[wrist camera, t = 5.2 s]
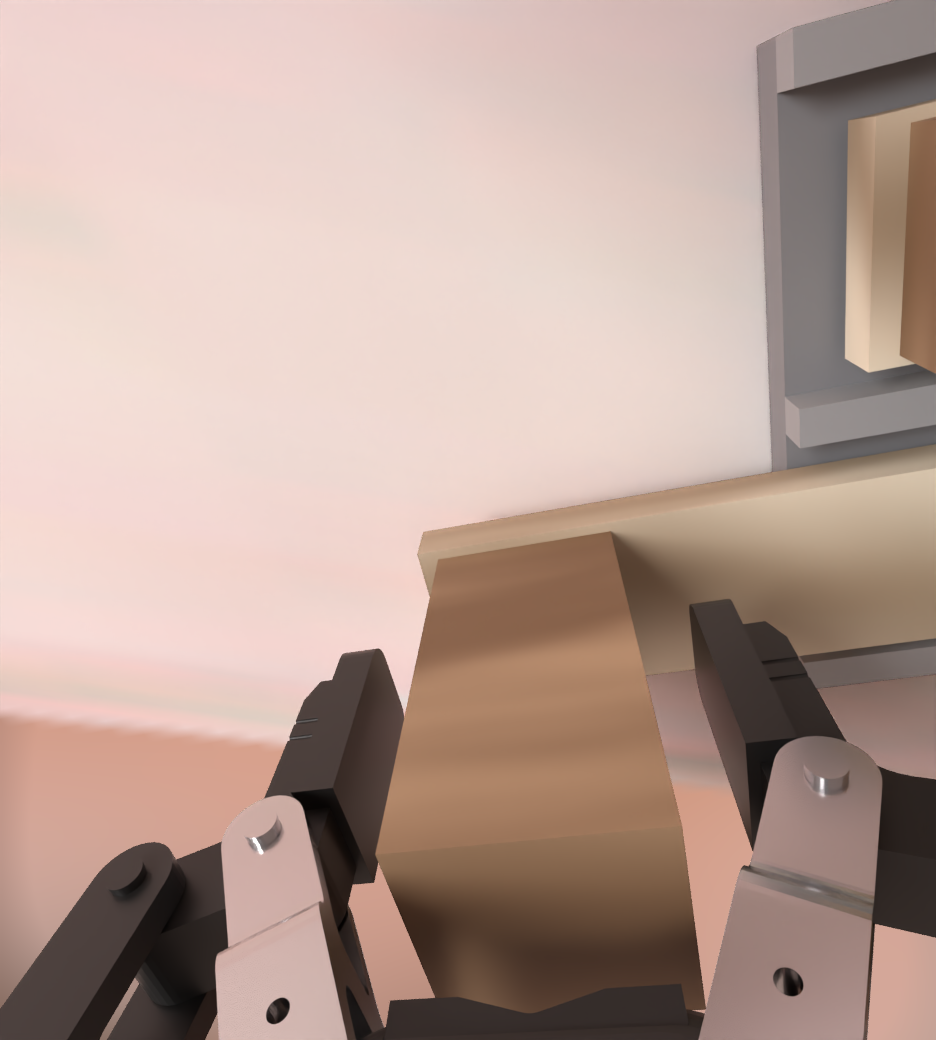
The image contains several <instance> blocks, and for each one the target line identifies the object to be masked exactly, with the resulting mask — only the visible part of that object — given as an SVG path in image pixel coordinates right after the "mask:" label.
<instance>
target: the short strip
mask: <svg viewBox="0 0 936 1040" xmlns="http://www.w3.org/2000/svg"><path fill="white" fill-rule="evenodd" d="M845 359H847V360H848V361H850V362H852V363H853V364H855V365H857V366H858V367H860V368H862V369H863V370H865V371H867V372H868V373H869V372H874V371H880V370H885V369H890V368H895V367H901V366H906V365H911V364H917V365H919V366H921V367H923V368H925V369H927V370H929V371H931V372H933V373H935V374H936V99H933V100H929V101H925V102H921V103H917V104H913V105H909V106H905V107H901V108H896V109H892V110H888V111H884V112H880V113H876V114H872V115H868V116H864V117H860V118H856V119H852V120H848V164H847V240H846V315H845Z"/></svg>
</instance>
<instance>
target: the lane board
mask: <svg viewBox="0 0 936 1040" xmlns="http://www.w3.org/2000/svg"><path fill="white" fill-rule="evenodd" d="M757 64H758V92H759V120H760V148H761V175H762V203H763V231H764V259H765V287H766V314H767V342H768V370H769V398H770V425H771V453H772V472H776V471H782V470H788V469H794V468H800V467H805V466H811V465H817V464H823V463H829V462H835V461H840V460H846V459H852V458H858V457H864V456H869V455H875V454H881V453H887V452H893V451H899V450H904V449H910V448H916V447H922V446H928V445H934V444H936V374H935V373H933V372H931V371H929V370H927V369H925V368H923V367H921V366H919V365H917V364H911V365H906V366H901V367H895V368H890V369H885V370H880V371H874V372H869V373H868V372H867V371H865V370H863V369H862V368H860V367H858V366H857V365H855V364H853V363H852V362H850V361H848V360H847V359H845V315H846V240H847V164H848V120H852V119H856V118H860V117H864V116H868V115H872V114H876V113H880V112H884V111H888V110H892V109H896V108H901V107H905V106H909V105H913V104H917V103H921V102H925V101H929V100H933V99H936V0H893V1H890V2H886V3H882V4H879V5H875V6H871V7H868V8H864V9H860V10H856V11H853V12H849V13H845V14H842V15H838V16H834V17H831V18H827V19H823V20H819V21H816V22H812V23H808V24H805V25H801V26H797V27H794V28H791V29H789V30H787V31H785V32H784V33H782V34H780V35H778V36H776V37H774V38H772V39H770V40H768V41H766V42H764V43H762V44H760V45H758V46H757ZM798 658H799V661H801V662H802V664H803V666H804V668H805V669H806V671H807V673H808V677H810V678H811V680H812V682H813V684H814V685H815V687H816V689H818V688H826V687H835V686H843V685H851V684H859V683H867V682H876V681H884V680H892V679H900V678H908V677H917V676H925V675H933V674H936V638H934V639H926V640H918V641H911V642H903V643H895V644H888V645H880V646H872V647H864V648H857V649H849V650H841V651H833V652H826V653H818V654H810V655H803V656H798Z"/></svg>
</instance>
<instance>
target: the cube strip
mask: <svg viewBox="0 0 936 1040" xmlns="http://www.w3.org/2000/svg"><path fill="white" fill-rule="evenodd" d="M417 555H418V558H419V562H420V565H421V569H422V572H423V575H424V579H425V582H426V585H427V589H428V592H429V595H430V600H429V604H428V609H427V614H426V618H425V623H424V628H423V632H422V637H421V642H420V647H419V651H418V656H417V661H416V665H415V670H414V675H413V679H412V684H411V689H410V694H409V698H408V703H407V708H406V712H405V717H404V722H403V726H402V731H401V736H400V741H399V745H398V750H397V755H396V759H395V764H394V769H393V773H392V778H391V783H390V788H389V792H388V797H387V802H386V806H385V811H384V816H383V820H382V825H381V830H380V835H379V839H378V844H377V849H376V853H375V855H376V858H377V860H378V863H379V865H380V867H381V869H382V872H383V874H384V877H385V879H386V882H387V884H388V886H389V889H390V891H391V893H392V896H393V898H394V900H395V903H396V905H397V907H398V910H399V912H400V915H401V917H402V919H403V922H404V924H405V927H406V929H407V931H408V933H409V936H410V938H411V941H412V943H413V946H414V948H415V950H416V952H417V955H418V957H419V960H420V962H421V965H422V967H423V969H424V972H425V974H426V976H427V979H428V981H429V983H430V986H431V988H432V991H433V993H434V995H435V998H445V997H461V998H465V999H469V1000H473V1001H477V1002H482V1003H486V1004H490V1005H494V1006H498V1007H502V1008H506V1009H510V1010H514V1011H519V1012H523V1013H536V1012H539V1011H542V1010H545V1009H548V1008H551V1007H554V1006H556V1005H559V1004H562V1003H565V1002H568V1001H571V1000H574V999H576V998H579V997H582V996H585V995H588V994H591V993H594V992H596V991H599V990H602V989H605V988H618V987H636V986H653V985H670V984H681V986H682V991H683V996H684V1002H685V1007H686V1009H688V1010H704V1009H706V1006H705V999H704V991H703V983H702V976H701V969H700V960H699V953H698V945H697V938H696V930H695V922H694V915H693V907H692V899H691V891H690V883H689V876H688V868H687V860H686V853H685V845H684V837H683V830H682V824H681V820H680V816H679V812H678V807H677V803H676V799H675V795H674V791H673V787H672V783H671V779H670V774H669V770H668V766H667V762H666V758H665V754H664V750H663V746H662V742H661V737H660V733H659V729H658V725H657V721H656V717H655V713H654V709H653V705H652V700H651V696H650V692H649V688H648V684H647V680H646V676H648V675H656V674H664V673H671V672H679V671H687V670H694V669H695V663H694V653H693V644H692V634H691V624H690V614H689V605H690V604H695V603H702V602H709V601H716V600H723V599H731V601H732V602H733V604H734V606H735V608H736V610H737V612H738V615H739V617H740V619H741V621H742V623H743V624H748V623H755V622H762V621H766V622H767V623H769V624H770V625H772V626H773V627H774V628H776V629H777V630H778V631H780V632H781V633H783V634H784V635H785V636H787V637H788V639H789V641H790V643H791V645H792V646H793V648H794V650H795V652H796V653H797V655H798V656H803V655H810V654H818V653H826V652H833V651H841V650H849V649H857V648H864V647H872V646H880V645H888V644H895V643H903V642H911V641H918V640H926V639H934V638H936V444H934V445H928V446H922V447H916V448H910V449H904V450H899V451H893V452H887V453H881V454H875V455H869V456H864V457H858V458H852V459H846V460H840V461H835V462H829V463H823V464H817V465H811V466H805V467H800V468H794V469H788V470H782V471H776V472H770V473H765V474H759V475H753V476H747V477H741V478H735V479H730V480H724V481H718V482H712V483H706V484H700V485H695V486H689V487H683V488H677V489H671V490H666V491H660V492H654V493H648V494H642V495H636V496H631V497H625V498H619V499H613V500H607V501H601V502H596V503H590V504H584V505H578V506H572V507H566V508H561V509H555V510H549V511H543V512H537V513H531V514H526V515H520V516H514V517H508V518H502V519H497V520H491V521H485V522H479V523H473V524H467V525H462V526H456V527H450V528H444V529H438V530H432V531H427V532H423V535H422V539H421V543H420V546H419V550H418V554H417Z"/></svg>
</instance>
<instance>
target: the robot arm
mask: <svg viewBox="0 0 936 1040" xmlns="http://www.w3.org/2000/svg"><path fill="white" fill-rule="evenodd" d="M689 614H690V624H691V634H692V644H693V653H694V663H695V671H696V678H697V683H698V688H699V692H700V696H701V699H702V702H703V706H704V708H705V711H706V714H707V717H708V720H709V723H710V726H711V729H712V732H713V735H714V738H715V741H716V744H717V747H718V750H719V753H720V756H721V759H722V762H723V765H724V768H725V771H726V774H727V777H728V780H729V783H730V786H731V788H732V791H733V794H734V797H735V800H736V803H737V806H738V809H739V812H740V815H741V818H742V821H743V824H744V827H745V830H746V833H747V836H748V839H749V842H750V845H751V848H752V851H753V855H752V859H751V862H750V865H749V866H745V865H744V866H743V867H742V868H741V870H740V873H739V876H738V879H737V883H736V887H735V891H734V895H733V899H732V904H731V907H730V911H729V916H728V920H727V924H726V928H725V932H724V936H723V940H722V945H721V949H720V953H719V957H718V961H717V965H716V969H715V974H714V978H713V982H712V986H711V990H710V995H709V998H708V1003H707V1007H706V1011H705V1014H704V1013H700V1012H696V1011H692V1010H688V1009H686V1007H685V1002H684V996H683V991H682V986H681V984H670V985H653V986H636V987H618V988H605V989H602V990H599V991H596V992H594V993H591V994H588V995H585V996H582V997H579V998H576V999H574V1000H571V1001H568V1002H565V1003H562V1004H559V1005H556V1006H554V1007H551V1008H548V1009H545V1010H542V1011H539V1012H536V1013H523V1012H519V1011H514V1010H510V1009H506V1008H502V1007H498V1006H494V1005H490V1004H486V1003H482V1002H477V1001H473V1000H469V999H465V998H461V997H445V998H428V999H411V1000H394V1001H390V1005H389V1011H388V1018H387V1024H386V1027H385V1028H384V1026H383V1023H382V1020H381V1018H380V1014H379V1011H378V1008H377V1005H376V1001H375V997H374V993H373V989H372V986H371V982H370V978H369V975H368V971H367V967H366V963H365V959H364V956H363V952H362V948H361V944H360V941H359V937H358V933H357V929H356V926H355V922H354V918H353V915H352V912H351V909H350V907H349V905H348V901H349V897H350V893H351V888H352V885H353V884H364V883H374V880H375V875H376V871H377V866H378V860H377V858H376V855H375V853H376V849H377V844H378V839H379V835H380V830H381V825H382V820H383V816H384V811H385V806H386V802H387V797H388V792H389V788H390V783H391V778H392V773H393V769H394V764H395V759H396V755H397V750H398V745H399V741H400V736H401V731H402V726H403V722H404V714H403V709H402V705H401V702H400V699H399V696H398V693H397V691H396V688H395V685H394V682H393V679H392V676H391V673H390V670H389V668H388V665H387V662H386V659H385V656H384V654H383V652H382V651H381V650H380V649H372V650H365V651H358V652H351V653H344V654H343V655H342V656H341V658H340V660H339V663H338V666H337V668H336V671H335V674H334V676H333V679H332V680H330V681H323V682H320V683H319V684H318V686H317V687H316V688H315V689H314V690H313V691H312V692H311V693H310V695H309V696H308V697H307V698H306V699H305V700H304V702H303V705H302V707H301V710H300V712H299V714H298V717H297V719H296V724H295V725H294V727H293V729H292V732H291V734H290V741H287V744H286V746H285V749H284V751H283V754H282V756H281V759H280V761H279V764H278V766H277V769H276V771H275V774H274V776H273V778H272V781H271V783H270V786H269V788H268V791H267V793H266V796H265V798H264V799H262V800H260V801H257V802H256V803H254V804H252V805H250V806H249V807H247V808H246V809H245V810H243V811H242V812H241V813H240V814H239V815H238V816H237V817H236V818H235V819H234V820H233V821H232V822H231V824H230V825H229V827H228V828H227V830H226V832H225V834H224V837H223V840H222V842H220V843H218V844H215V845H213V846H210V847H208V848H205V849H202V850H200V851H197V852H195V853H192V854H190V855H187V856H184V857H182V858H179V859H177V860H176V859H175V857H174V856H173V854H172V852H171V851H170V849H169V848H168V847H167V846H166V845H164V844H161V843H155V842H153V843H145V844H141V845H138V846H135V847H132V848H131V849H128V850H126V851H125V852H123V853H121V854H120V855H118V856H117V857H115V858H114V859H113V860H111V861H110V862H109V863H108V864H107V865H106V866H105V867H104V868H103V869H102V870H101V871H100V872H99V873H98V874H97V876H96V877H95V878H94V880H93V881H92V882H91V884H90V885H89V887H88V888H87V889H86V891H85V892H84V893H83V895H82V896H81V898H80V899H79V900H78V902H77V903H76V905H75V906H74V907H73V909H72V910H71V911H70V913H69V914H68V916H67V917H66V918H65V920H64V921H63V923H62V924H61V925H60V927H59V928H58V930H57V931H56V932H55V934H54V935H53V936H52V938H51V939H50V941H49V942H48V943H47V945H46V946H45V948H44V949H43V950H42V952H41V953H40V955H39V956H38V957H37V959H36V960H35V961H34V963H33V964H32V966H31V967H30V968H29V970H28V971H27V973H26V974H25V975H24V977H23V978H22V980H21V981H20V982H19V984H18V985H17V987H16V988H15V989H14V991H13V992H12V994H11V995H10V996H9V998H8V999H7V1000H6V1002H5V1003H4V1005H3V1006H2V1007H1V1009H0V1040H100V1037H101V1035H102V1033H103V1031H104V1029H105V1027H106V1026H107V1024H108V1022H109V1020H110V1019H111V1017H112V1015H113V1014H114V1012H115V1010H116V1008H117V1007H118V1005H119V1003H120V1002H121V1000H122V998H123V997H124V995H125V993H126V992H127V990H128V988H129V986H130V985H131V983H132V981H133V979H134V978H136V980H137V981H138V982H139V985H138V987H137V989H136V991H135V992H134V994H133V996H132V998H131V999H130V1001H129V1003H128V1004H127V1006H126V1008H125V1010H124V1011H123V1013H122V1015H121V1017H120V1018H119V1020H118V1022H117V1024H116V1025H115V1027H114V1029H113V1031H112V1032H111V1034H110V1036H109V1038H108V1039H107V1040H205V1038H206V1036H207V1034H208V1032H209V1030H210V1028H211V1026H212V1023H213V1021H214V1019H215V1017H216V1015H217V1013H218V1028H219V1040H867V1033H868V1019H869V1003H870V989H871V975H872V960H873V946H874V931H875V924H879V925H883V926H887V927H892V928H896V929H901V930H905V931H909V932H914V933H918V934H922V935H927V936H931V937H936V780H935V779H928V778H921V777H914V776H908V775H903V774H899V773H895V772H892V771H889V770H886V769H884V768H881V767H879V766H877V765H876V763H875V762H874V761H873V760H872V758H871V757H870V756H868V755H867V754H866V753H865V752H864V751H862V750H861V749H859V748H858V747H856V746H854V745H852V744H850V743H848V742H847V741H846V740H845V738H844V737H843V735H842V733H841V731H840V730H839V728H838V726H837V724H836V722H835V721H834V719H833V717H832V715H831V714H830V712H829V710H828V708H827V707H826V705H825V703H824V701H823V699H822V698H821V696H820V694H819V692H818V691H817V689H816V687H815V685H814V684H813V682H812V680H811V678H810V677H808V673H807V671H806V669H805V668H804V666H803V664H802V662H801V661H799V658H798V655H797V653H796V652H795V650H794V648H793V646H792V645H791V643H790V641H789V639H788V637H787V636H785V635H784V634H783V633H781V632H780V631H778V630H777V629H776V628H774V627H773V626H772V625H770V624H769V623H767V622H766V621H762V622H755V623H748V624H743V623H742V621H741V619H740V617H739V615H738V612H737V610H736V608H735V606H734V604H733V602H732V601H731V599H723V600H716V601H709V602H702V603H695V604H690V605H689Z"/></svg>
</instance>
